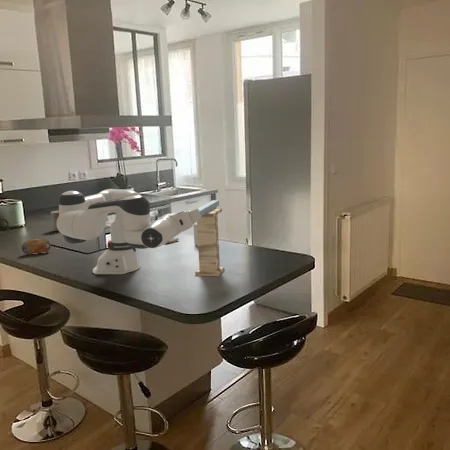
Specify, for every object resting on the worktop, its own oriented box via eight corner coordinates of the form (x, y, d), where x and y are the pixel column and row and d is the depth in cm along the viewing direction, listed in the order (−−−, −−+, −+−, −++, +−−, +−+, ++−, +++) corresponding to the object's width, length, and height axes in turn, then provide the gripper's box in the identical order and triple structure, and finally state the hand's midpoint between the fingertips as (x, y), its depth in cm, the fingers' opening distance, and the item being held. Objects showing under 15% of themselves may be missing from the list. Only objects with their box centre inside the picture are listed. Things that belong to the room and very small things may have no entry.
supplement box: (211, 245, 266) (210, 223, 264) (200, 247, 262) (199, 225, 260) (204, 242, 272) (203, 221, 270) (194, 244, 268) (192, 223, 266)
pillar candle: (70, 229, 329) (67, 208, 326) (62, 231, 320) (59, 210, 317) (57, 229, 331) (55, 208, 328) (49, 232, 322) (47, 210, 319)
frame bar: (199, 217, 195) (199, 211, 194) (193, 217, 195) (192, 211, 195) (219, 205, 223) (218, 200, 222) (213, 205, 224) (212, 200, 223)
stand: (217, 277, 207) (214, 213, 201) (193, 276, 210) (190, 213, 204) (225, 268, 220) (222, 208, 214) (203, 267, 223) (200, 208, 217)
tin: (22, 256, 259) (20, 241, 258) (23, 254, 262) (21, 240, 261) (51, 252, 264) (49, 238, 262) (51, 251, 267) (49, 237, 265)
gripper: (148, 241, 175) (163, 231, 188) (195, 226, 168) (207, 216, 181) (142, 226, 174) (157, 217, 187) (189, 210, 167) (201, 201, 180)
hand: (182, 216), depth 184 cm, fingers open, 8 cm apart
